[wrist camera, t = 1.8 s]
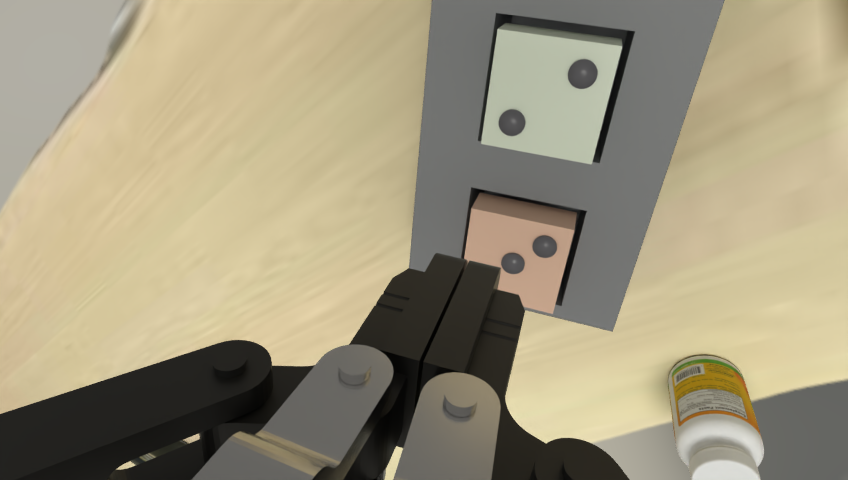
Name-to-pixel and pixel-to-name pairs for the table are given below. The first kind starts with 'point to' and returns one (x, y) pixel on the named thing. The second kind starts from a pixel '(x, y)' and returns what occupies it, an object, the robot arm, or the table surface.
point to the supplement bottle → (714, 420)
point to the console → (547, 176)
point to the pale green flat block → (549, 91)
